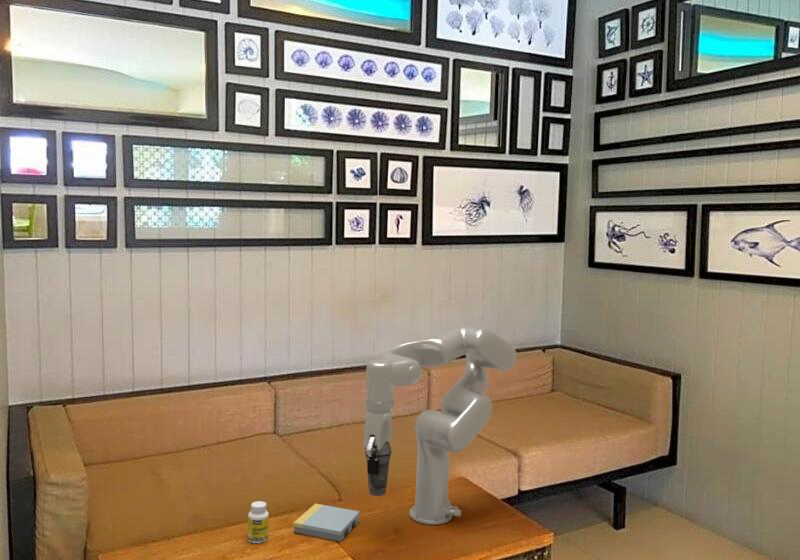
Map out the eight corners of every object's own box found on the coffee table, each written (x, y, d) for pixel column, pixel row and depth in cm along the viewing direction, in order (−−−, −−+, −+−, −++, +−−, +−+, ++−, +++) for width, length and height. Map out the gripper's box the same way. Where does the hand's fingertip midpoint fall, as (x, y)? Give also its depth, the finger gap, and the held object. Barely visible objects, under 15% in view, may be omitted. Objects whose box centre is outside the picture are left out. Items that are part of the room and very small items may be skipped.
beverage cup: (387, 499, 179) (389, 426, 177) (361, 496, 180) (362, 424, 179) (393, 488, 186) (394, 418, 184) (367, 486, 188) (369, 416, 186)
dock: (359, 521, 192) (359, 511, 192) (340, 542, 179) (340, 531, 179) (315, 513, 197) (315, 503, 197) (293, 533, 183) (293, 522, 183)
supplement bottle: (250, 545, 175) (251, 509, 175) (245, 536, 180) (245, 501, 179) (270, 542, 178) (271, 506, 177) (264, 533, 183) (265, 498, 182)
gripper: (377, 396, 190) (376, 457, 192) (354, 412, 174) (353, 478, 176) (402, 399, 188) (400, 460, 190) (381, 415, 172) (380, 482, 173)
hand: (378, 468), depth 183 cm, fingers closed on beverage cup, 6 cm apart
